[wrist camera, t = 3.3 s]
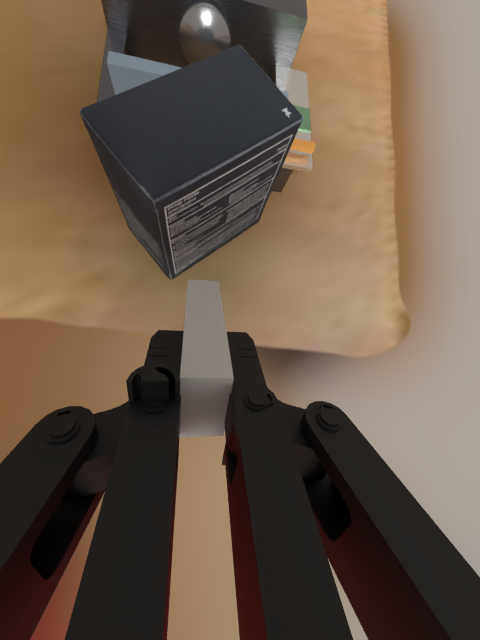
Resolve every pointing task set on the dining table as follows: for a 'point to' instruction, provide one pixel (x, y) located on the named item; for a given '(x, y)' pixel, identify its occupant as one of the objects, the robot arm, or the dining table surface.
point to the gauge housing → (216, 45)
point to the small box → (194, 154)
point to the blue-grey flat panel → (139, 71)
